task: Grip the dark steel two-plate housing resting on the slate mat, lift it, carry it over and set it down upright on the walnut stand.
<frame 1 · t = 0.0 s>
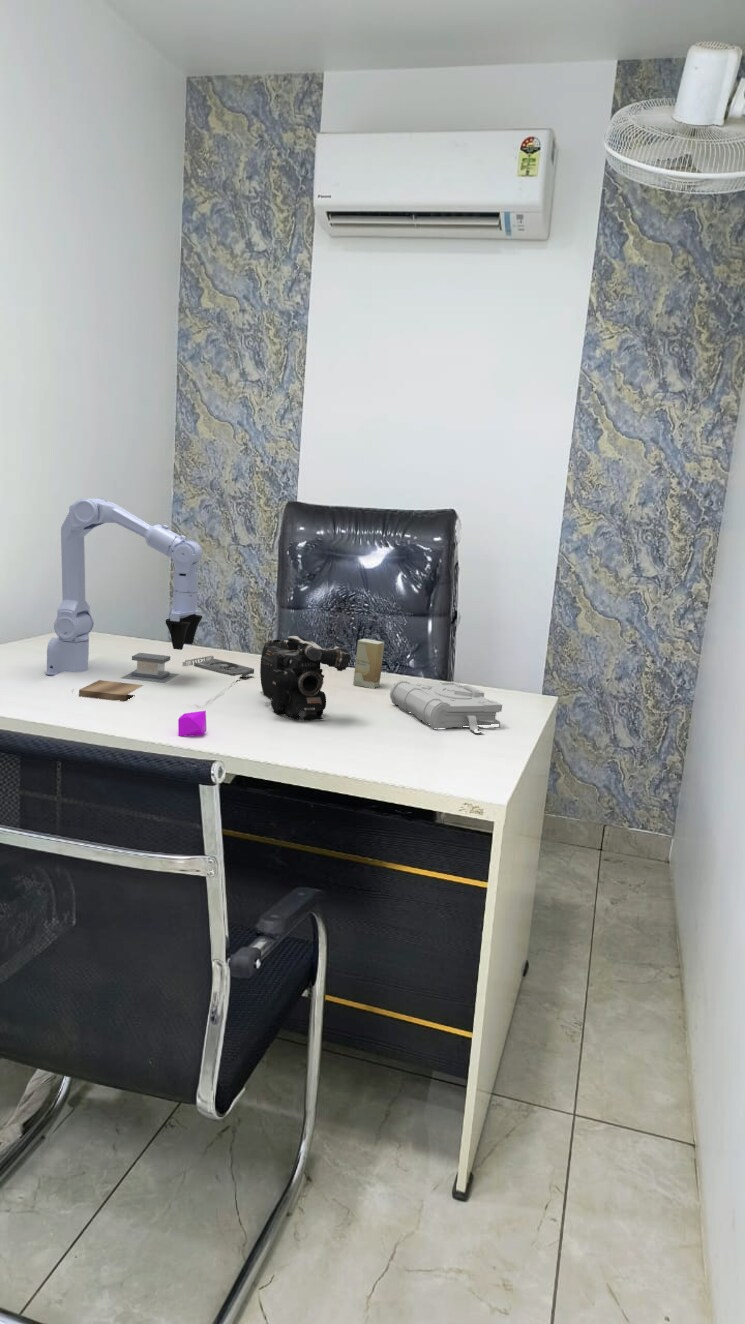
hand: (183, 646, 226), 10 cm above the table, tool pointing down, fingers open, 7 cm apart
crystal: (191, 735, 189), on the table
stand a: (150, 681, 230), on the table
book: (448, 720, 220), on the table
movie camera: (293, 709, 217), on the table
graphics card: (218, 676, 245), on the table
housing: (150, 675, 230), point 1 cm above the table, touching stand a
stand b: (111, 693, 215), on the table
skincare box: (366, 686, 246), on the table
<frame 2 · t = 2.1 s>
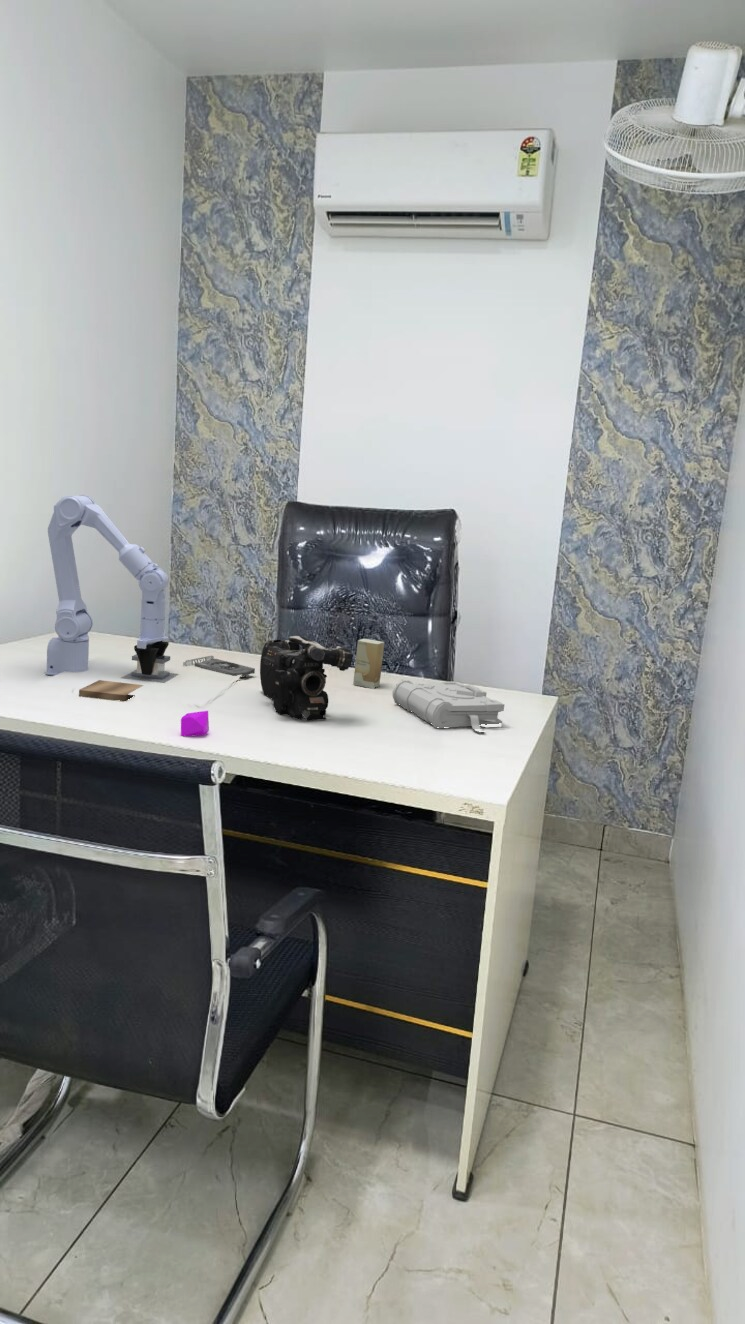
hand: (150, 672, 230), 2 cm above the table, tool pointing down, fingers closed on housing, 5 cm apart
housing: (150, 675, 230), point 1 cm above the table, touching gripper, stand a
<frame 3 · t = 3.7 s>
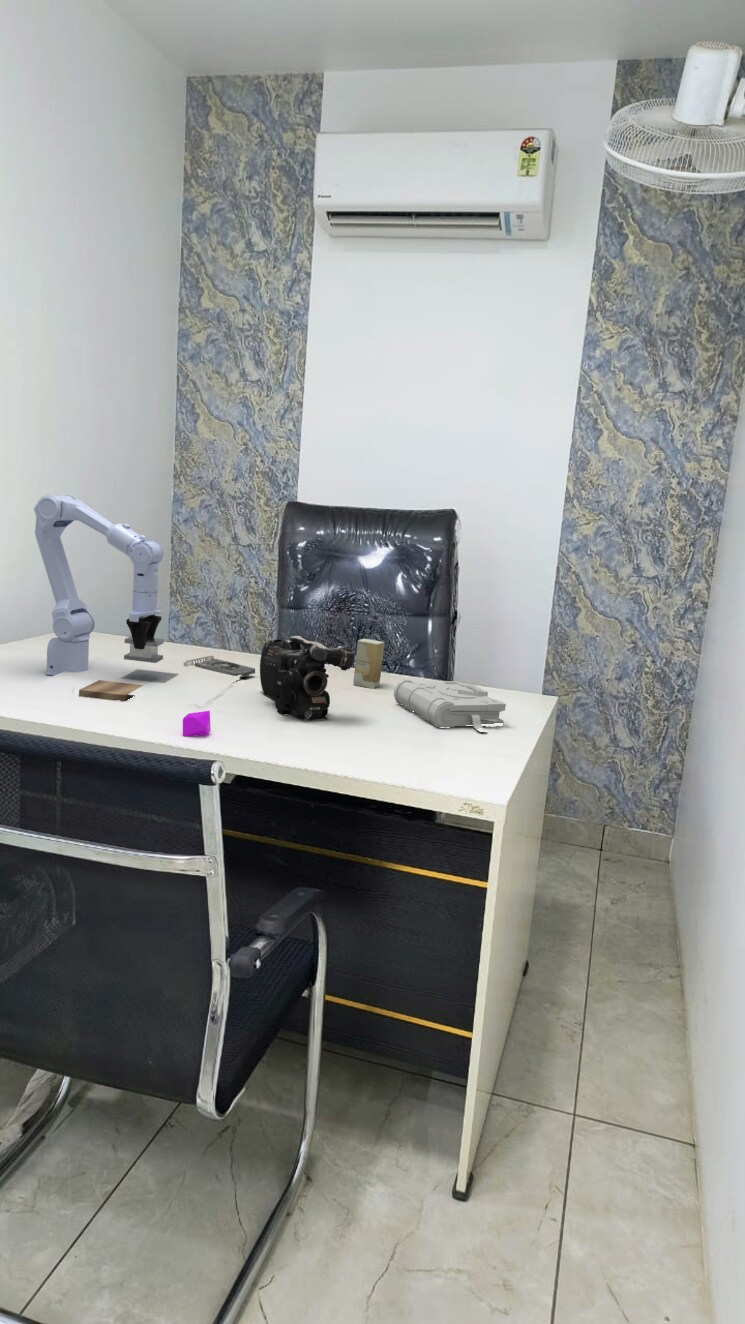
hand: (143, 646, 225), 9 cm above the table, tool pointing down, fingers closed on housing, 5 cm apart
housing: (143, 659, 225), point 6 cm above the table, touching gripper
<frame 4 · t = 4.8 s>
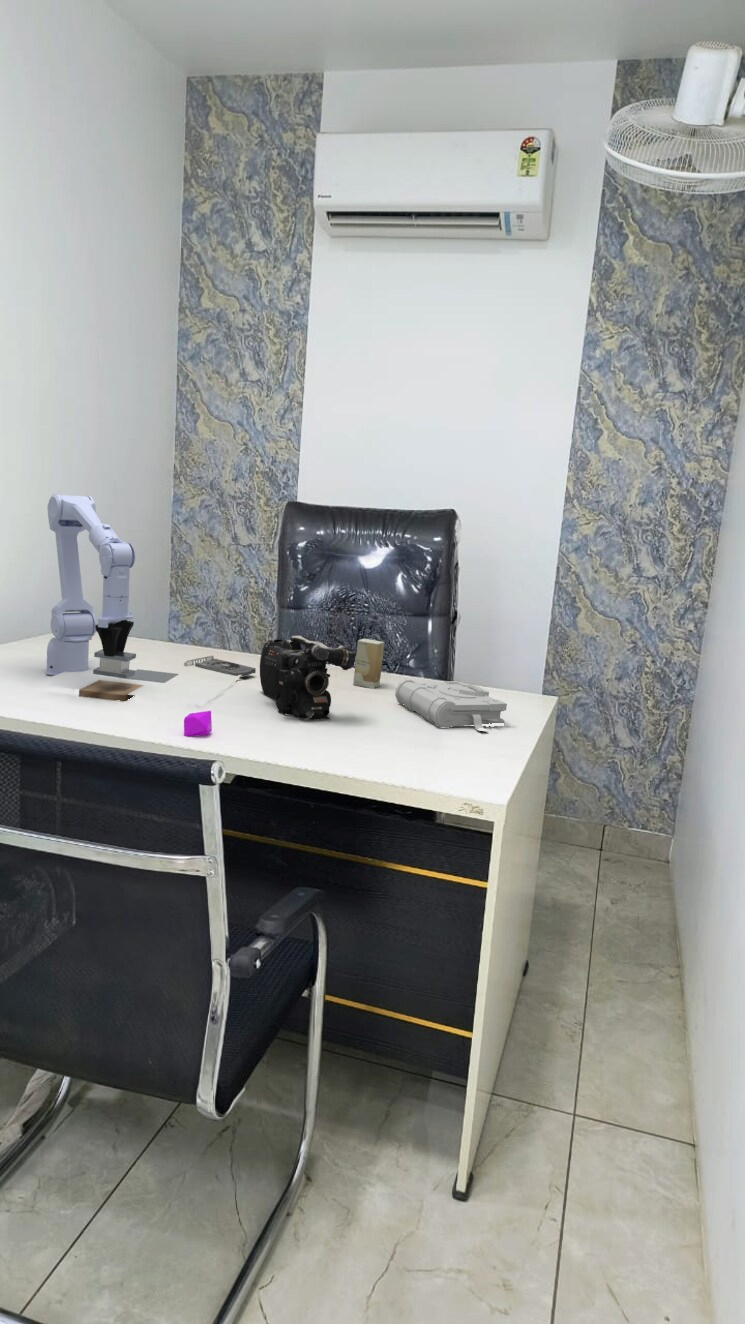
hand: (114, 653, 214), 9 cm above the table, tool pointing down, fingers closed on housing, 5 cm apart
housing: (114, 674, 215), point 5 cm above the table, touching gripper
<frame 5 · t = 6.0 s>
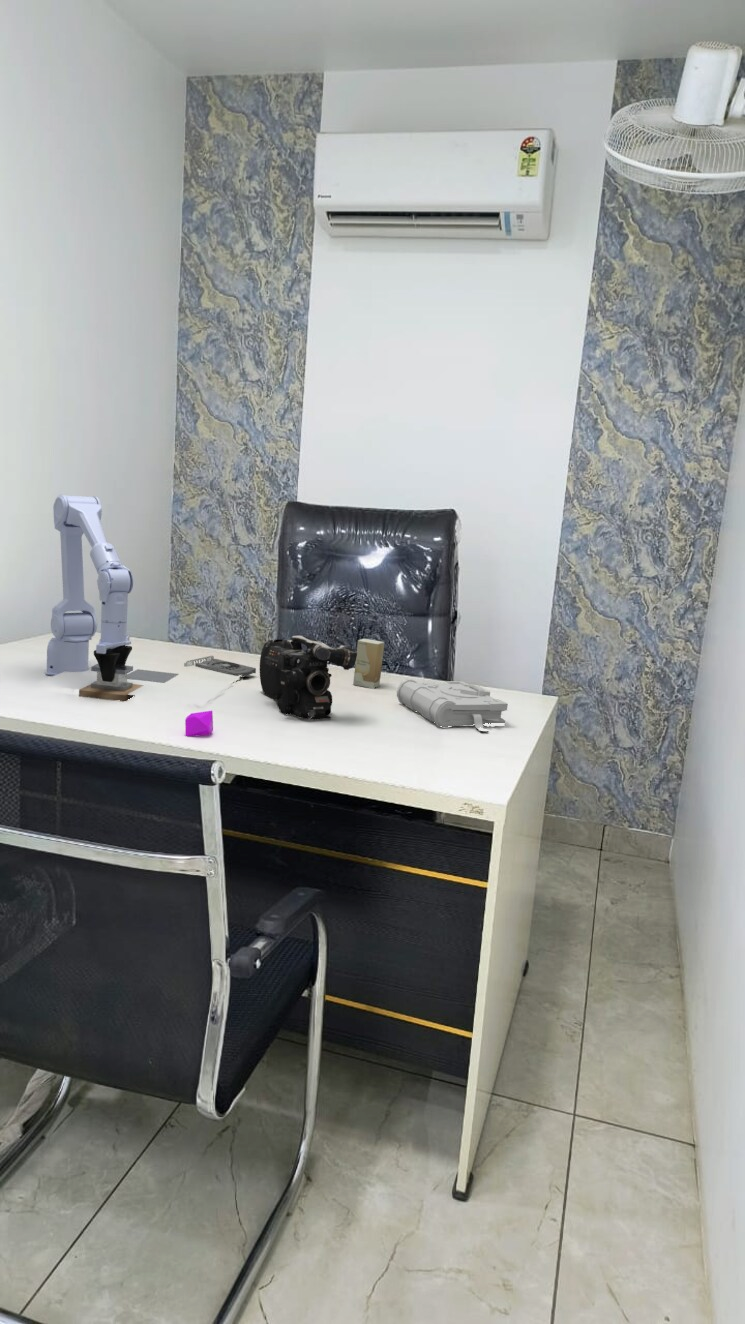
hand: (112, 678, 215), 4 cm above the table, tool pointing down, fingers open, 5 cm apart
housing: (111, 687, 215), point 1 cm above the table, touching gripper, stand b
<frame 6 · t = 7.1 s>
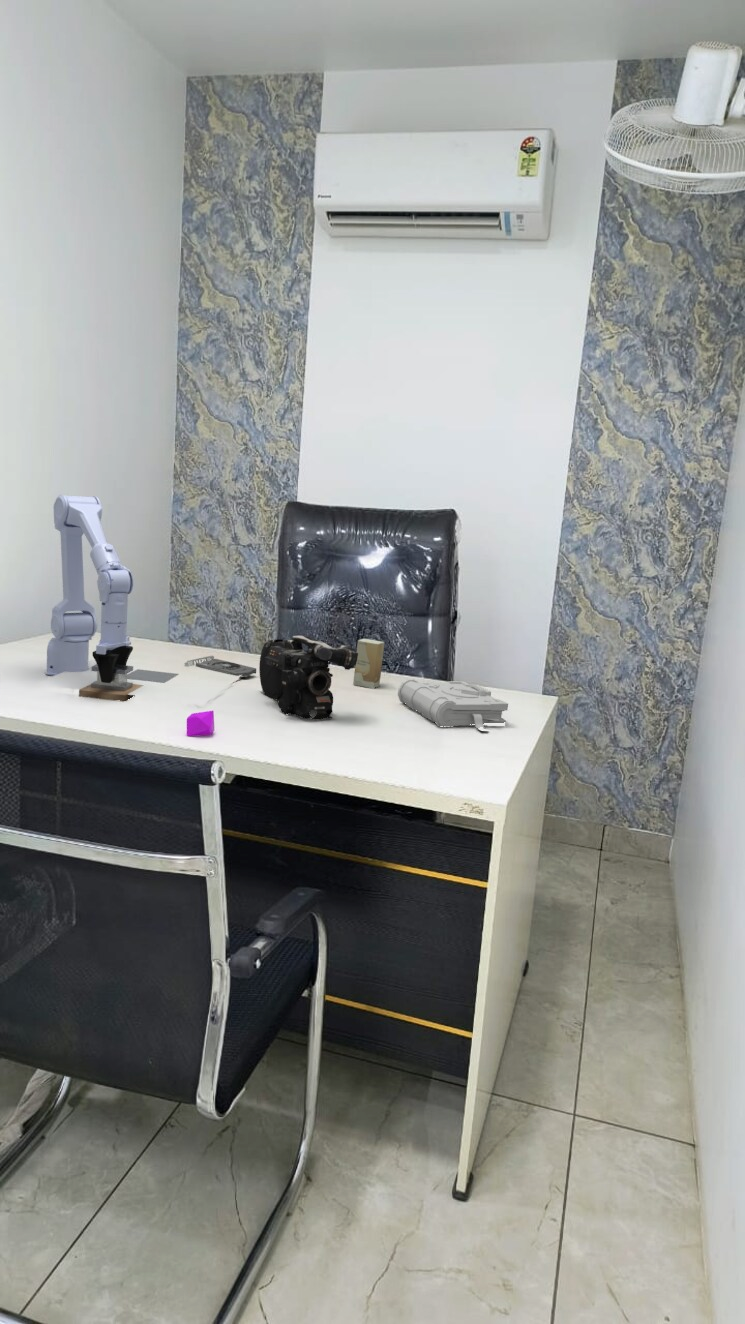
hand: (112, 679, 215), 3 cm above the table, tool pointing down, fingers open, 6 cm apart
housing: (111, 687, 215), point 1 cm above the table, touching stand b
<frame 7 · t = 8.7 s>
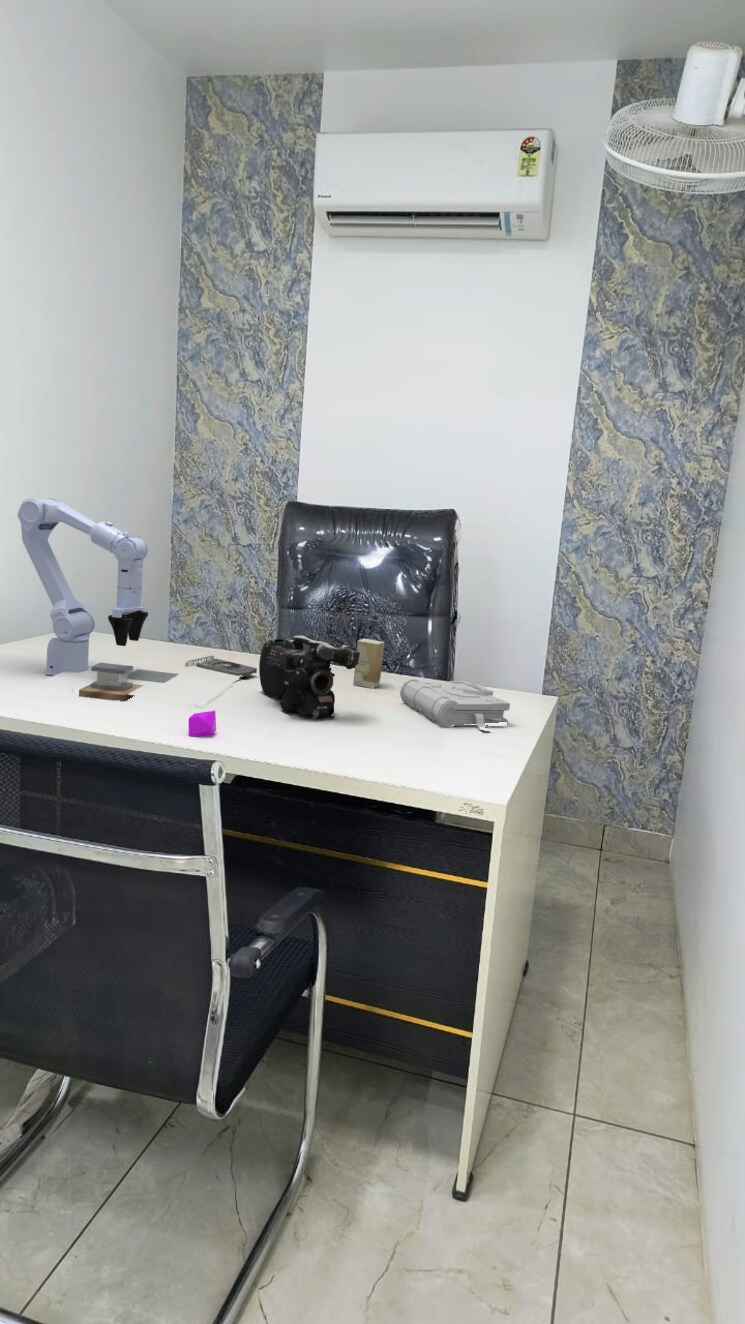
hand: (127, 642, 225), 10 cm above the table, tool pointing down, fingers open, 7 cm apart
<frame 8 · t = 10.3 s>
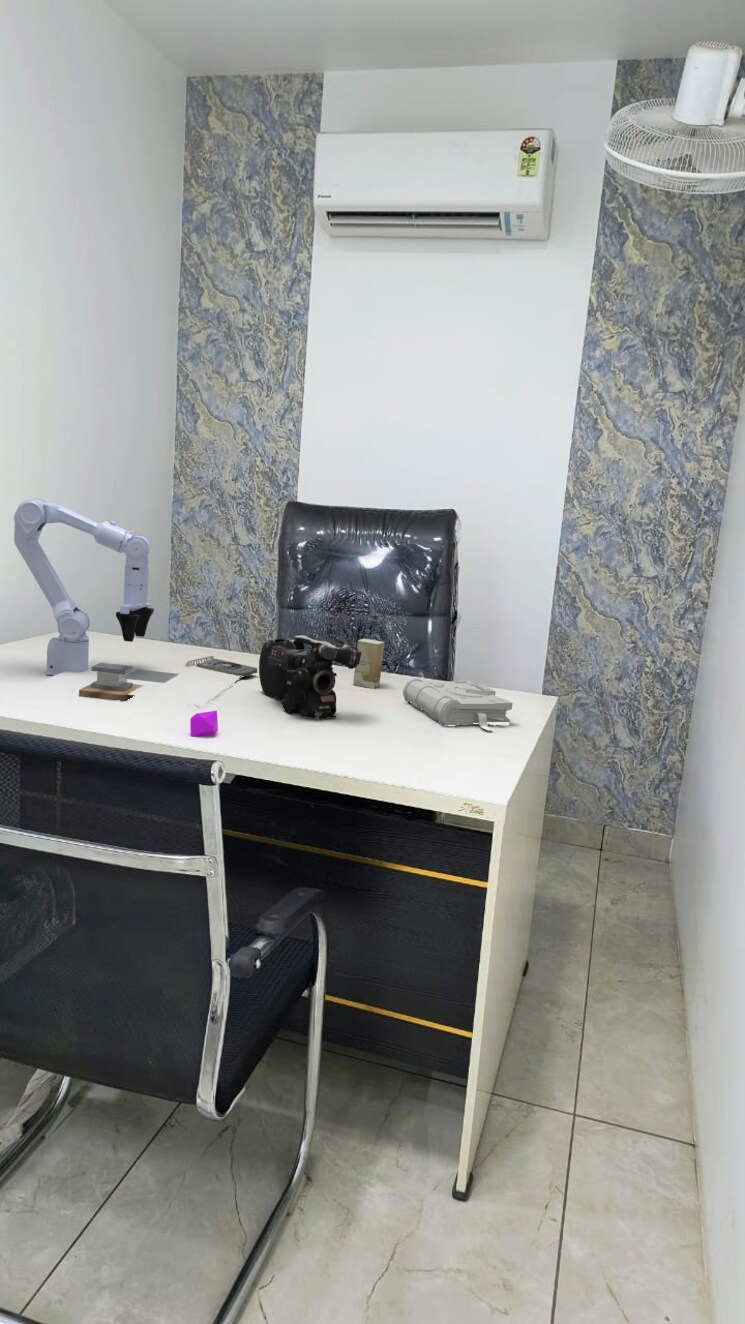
hand: (134, 638, 231), 10 cm above the table, tool pointing down, fingers open, 7 cm apart
at the end: housing inside the target area on the stand b (0.0 cm from its centre), point 1.5 cm above the stand b's base; housing tilted 0°; the gripper is holding nothing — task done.
